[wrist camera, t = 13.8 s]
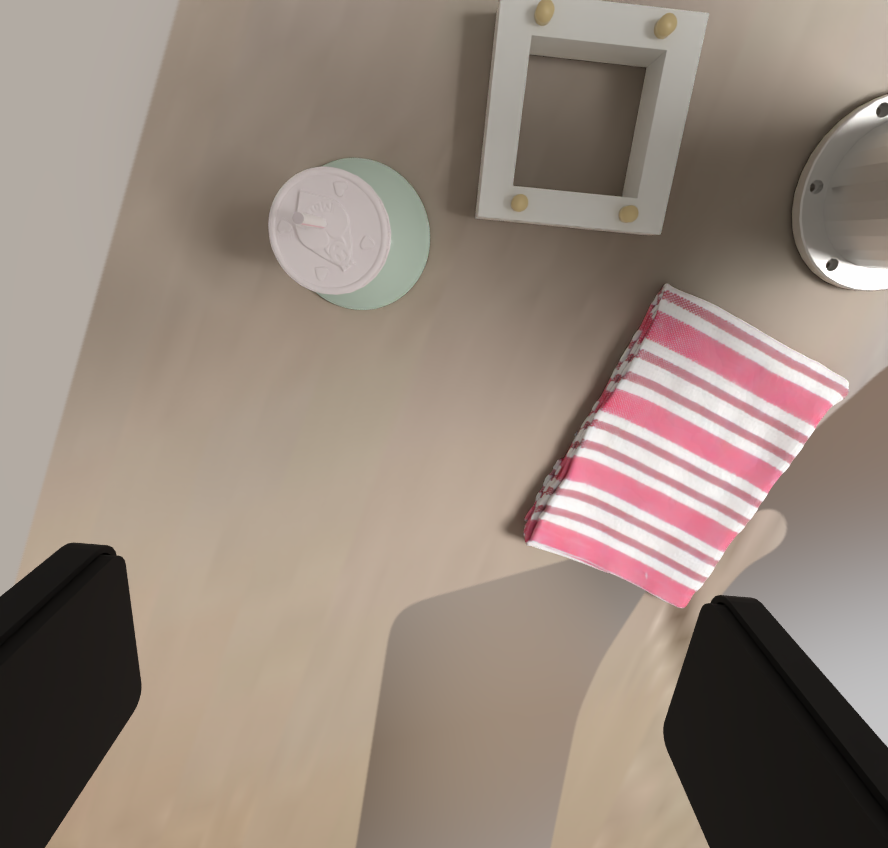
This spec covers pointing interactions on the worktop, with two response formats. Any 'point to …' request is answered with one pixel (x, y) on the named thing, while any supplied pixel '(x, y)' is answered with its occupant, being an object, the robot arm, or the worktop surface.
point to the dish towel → (680, 447)
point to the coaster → (405, 236)
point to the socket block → (599, 40)
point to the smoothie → (329, 230)
